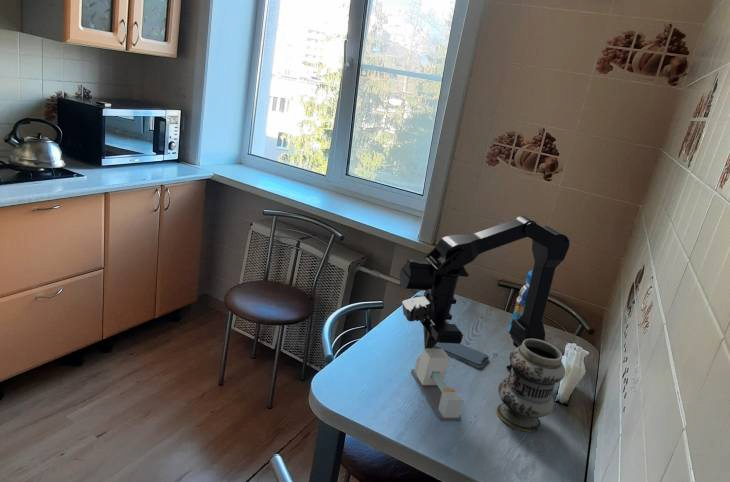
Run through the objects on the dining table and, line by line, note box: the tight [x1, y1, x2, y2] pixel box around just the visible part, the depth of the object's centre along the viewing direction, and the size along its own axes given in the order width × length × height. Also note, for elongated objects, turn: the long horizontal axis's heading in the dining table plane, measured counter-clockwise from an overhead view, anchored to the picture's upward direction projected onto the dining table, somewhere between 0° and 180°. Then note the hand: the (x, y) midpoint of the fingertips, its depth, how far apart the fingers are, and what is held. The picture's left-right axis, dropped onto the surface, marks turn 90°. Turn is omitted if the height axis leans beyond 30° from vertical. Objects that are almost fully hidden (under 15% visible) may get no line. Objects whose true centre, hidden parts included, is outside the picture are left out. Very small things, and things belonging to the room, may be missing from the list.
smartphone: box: [432, 342, 489, 369], centre depth 141 cm, size 8×2×15 cm
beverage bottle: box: [507, 270, 533, 332], centre depth 157 cm, size 8×8×20 cm
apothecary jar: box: [496, 339, 566, 433], centre depth 114 cm, size 12×12×18 cm
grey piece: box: [410, 354, 464, 422], centre depth 118 cm, size 5×18×5 cm, turn 15°
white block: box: [417, 347, 451, 385], centre depth 121 cm, size 5×4×7 cm
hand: (427, 349), depth 125 cm, fingers closed
